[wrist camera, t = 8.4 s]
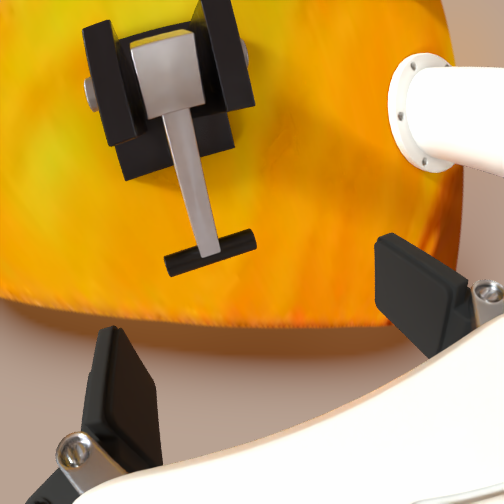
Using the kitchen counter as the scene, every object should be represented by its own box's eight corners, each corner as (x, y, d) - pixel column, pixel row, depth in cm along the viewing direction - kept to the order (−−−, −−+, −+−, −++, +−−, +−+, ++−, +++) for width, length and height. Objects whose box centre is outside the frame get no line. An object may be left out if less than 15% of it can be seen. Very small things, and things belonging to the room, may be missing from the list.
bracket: (231, 146, 22) (310, 173, 11) (126, 178, 21) (95, 240, 10) (201, 23, 18) (253, -66, 7) (94, 52, 17) (34, -15, 5)
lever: (247, 232, 19) (261, 260, 17) (166, 259, 18) (173, 290, 17) (218, 22, 10) (235, 25, 9) (95, 54, 9) (88, 63, 8)
